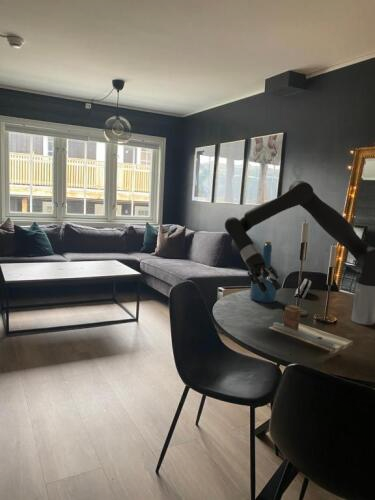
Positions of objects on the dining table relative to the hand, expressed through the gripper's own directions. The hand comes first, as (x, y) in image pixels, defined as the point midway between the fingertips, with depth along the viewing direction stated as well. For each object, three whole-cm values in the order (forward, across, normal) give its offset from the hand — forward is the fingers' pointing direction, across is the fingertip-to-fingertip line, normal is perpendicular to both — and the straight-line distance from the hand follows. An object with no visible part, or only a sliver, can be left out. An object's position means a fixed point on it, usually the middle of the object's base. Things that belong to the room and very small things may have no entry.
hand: (272, 290), depth 154 cm
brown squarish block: (+17, 0, +2) cm, 17 cm away
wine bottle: (-8, +30, +29) cm, 43 cm away
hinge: (-6, +60, +27) cm, 66 cm away
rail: (+22, -3, -3) cm, 22 cm away
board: (+23, +2, -2) cm, 23 cm away
